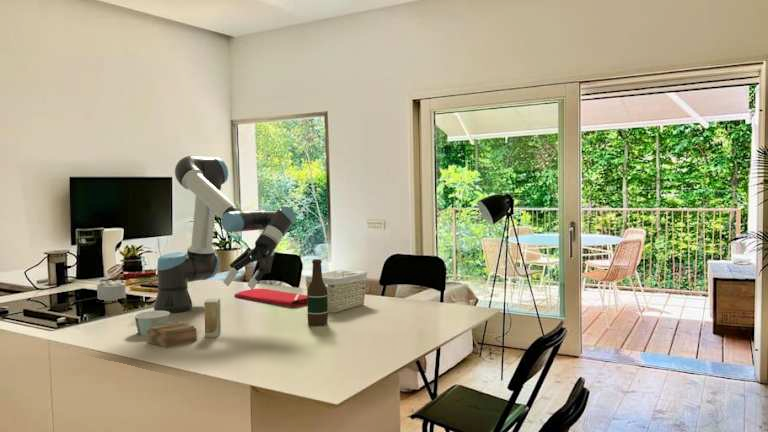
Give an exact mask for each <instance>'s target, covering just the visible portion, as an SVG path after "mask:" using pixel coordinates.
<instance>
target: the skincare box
mask: <svg viewBox="0 0 768 432" xmlns="http://www.w3.org/2000/svg"><path fill="white" fill-rule="evenodd" d="M203 303H204V304H203V306H204V309H203V310H204V337H205V338H218V337H219V335H220V334H221V332H222V331H221V328H222V324H221V298H218V297H217V298H207V299H206V300H205V301H204V302H203Z"/></svg>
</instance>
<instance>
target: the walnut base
mask: <svg viewBox="0 0 768 432" xmlns="http://www.w3.org/2000/svg"><path fill="white" fill-rule="evenodd" d="M197 330H198V329H197V328H196V327H195V325H193V324H189V323H184V322H180V321H174V322H173V321H172V322H168V323H167V324H163V325H158V326H153V327H150V330H148V336H147V343H148V344H149V343H150V344H153V345H156V346H160V347H164V348H166V349H167V348H171V347H175V346H179V345H183V344H187V343H191V342H195V341H198V334H197Z"/></svg>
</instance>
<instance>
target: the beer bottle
mask: <svg viewBox="0 0 768 432" xmlns="http://www.w3.org/2000/svg"><path fill="white" fill-rule="evenodd" d="M311 263H312V271H311V272H312V273H311V274H312V281H311V283H310V285H309V287H308V291H307V290H306V293H307V294H306V295H307V305H306V306H307V323H308V326H310V327H323V326H324V327H325V326H327V325H328V318H329V317H328V316H329V312H328V300H327V289H326V286H325V284H324V283H323V280H322V273H323V271H322V263H323V261H322V259H319V258H317V259H312V261H311Z"/></svg>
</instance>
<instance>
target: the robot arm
mask: <svg viewBox="0 0 768 432" xmlns="http://www.w3.org/2000/svg"><path fill="white" fill-rule="evenodd" d="M174 175H175V179H176V180H177V182H178V183H179V184H180V186H181V187H183V188H184V189H185V190H188V191H190V192H192V194H194V195H195V200H194V213H193V223H192V224H193V225H192V236H191V246H189V247H188V248H187V249H186V250H187V251H186V252H183V251H180V252H179V251H178V252H171V253H170V252H169V253H166V254H162V255H161V256H159V257H158V258H157V265H156V266H157V267H156V270H157V295H156V298H155V302H154V305H153V311H168V312H170V314H171V313H181V312H187V311H190V310H192V309H193V302H192V299H191V296H190V293H189V288H188V283H191V282H197V281H206V280H208V279H209V280H210V279H212V278H214V277H215V276H216V275H217V274H218V272H219V269H220V267H221V265H220V264H221V262H220V259H219V256H218V255H217V253H216V249H214V247H213V239H214V228H215V217H216V216H218V217H219V219H221V222H220V223H221V226H222V228H223V230H225V231H226V232H229V233H238V232H239V233H240V232H247V231H248V232H249V231H250V232H251V231H261V230H262V232H261V233H260V235H259V236H258V237H257V239H256V240H255V243H254V248H250V247H247V248H246V249H245V251H244V252H243V253H241V254H240V255H239V256H238V257H237V258H235V259H234V261H232V262H230V264H229V267H230V268H231V269H230V270H229V272H228V273H227V275H226V276H225V278H224V279H223V280H222V282H223V283H224V285H226V286H227V287H229V286H230V285H231V283H232V282H233V280H234V279H235V278H236V276H237V275H238V273H239V271H240V270H241V269H243V268H244V267H246V266H247V265H249V264H250V263H254V262H258V268H257V270H256V271H255V273H254V274H253V275H252V277H251V278H250V280H249V281H248V282H247V286H248V287H249V288H250V290H251V289H255V287H256V286H257V285H258V283H259V281H261V279H262V278H263V276H264V275H266V274H270V273H271V270H272V267H273V262H274V258H275V256H276V252H275V250H276V248H277V246H278V245H279V243H280V242H281V241H282V239H283V237H284V236H285V235H286V234H287V232H288V231H289V229H290V228H291V226H292V225H293V223H294V222H295V220H296V219H297V214H296V212H295V211H294V209H292V207H290V206H288V205H281V206H280V207H278V209H277V210H273V211H272V210H262V209H255V210H249V211H247V210H245V211H243V210H242V209H240V208H239V206H237V205H236V204H235V203H233V202H232V200H230V199H229V198H228V197H227V196H226V195H225V194H224V193H223V192H222V191H221V190H222V185H224V184H225V183H226V182H227V181H228V177H229V169H228V166H227V164H226V162H225V161H224V160H223V159H221V158H220V157H216V156H198V155H197V156H196V155H187V156H185V157H182V158H181V159H180V160H179V161H178V162H177V163H176V165H175V169H174Z"/></svg>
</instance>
